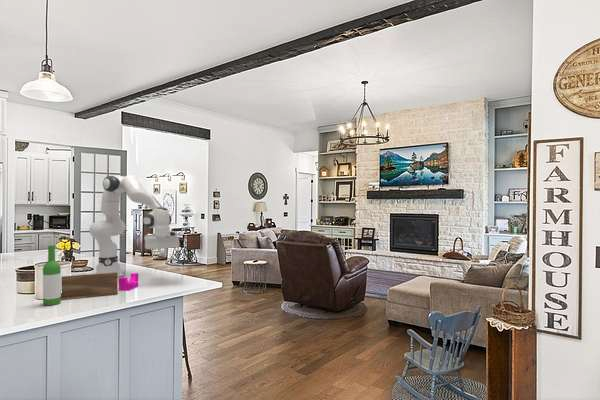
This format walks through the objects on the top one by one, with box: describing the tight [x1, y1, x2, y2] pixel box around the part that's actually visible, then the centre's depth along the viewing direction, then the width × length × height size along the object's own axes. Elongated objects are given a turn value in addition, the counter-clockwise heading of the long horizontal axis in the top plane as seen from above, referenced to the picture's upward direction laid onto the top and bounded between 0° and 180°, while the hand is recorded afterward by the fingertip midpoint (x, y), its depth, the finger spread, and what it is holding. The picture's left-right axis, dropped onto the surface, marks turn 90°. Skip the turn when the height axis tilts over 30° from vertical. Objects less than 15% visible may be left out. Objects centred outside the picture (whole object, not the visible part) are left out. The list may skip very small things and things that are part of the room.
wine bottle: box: [42, 244, 62, 306], centre depth 194 cm, size 8×8×30 cm
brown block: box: [61, 272, 119, 301], centre depth 212 cm, size 13×28×12 cm, turn 114°
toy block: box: [118, 272, 139, 292], centre depth 229 cm, size 15×6×8 cm, turn 174°
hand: (162, 255), depth 236 cm, fingers closed
